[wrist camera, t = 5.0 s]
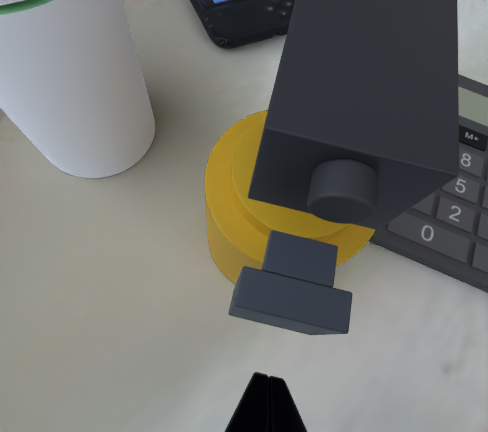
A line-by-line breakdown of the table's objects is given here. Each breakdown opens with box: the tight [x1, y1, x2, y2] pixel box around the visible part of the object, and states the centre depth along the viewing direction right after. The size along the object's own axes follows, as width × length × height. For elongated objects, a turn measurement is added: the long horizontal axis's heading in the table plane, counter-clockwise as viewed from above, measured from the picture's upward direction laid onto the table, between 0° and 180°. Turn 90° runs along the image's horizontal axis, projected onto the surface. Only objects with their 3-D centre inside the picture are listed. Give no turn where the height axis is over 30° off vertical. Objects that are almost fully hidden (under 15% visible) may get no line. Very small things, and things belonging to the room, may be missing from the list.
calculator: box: [369, 74, 488, 292], centre depth 22 cm, size 12×1×15 cm
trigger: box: [229, 230, 352, 335], centre depth 10 cm, size 2×3×3 cm
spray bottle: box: [205, 0, 459, 285], centre depth 13 cm, size 7×7×14 cm
